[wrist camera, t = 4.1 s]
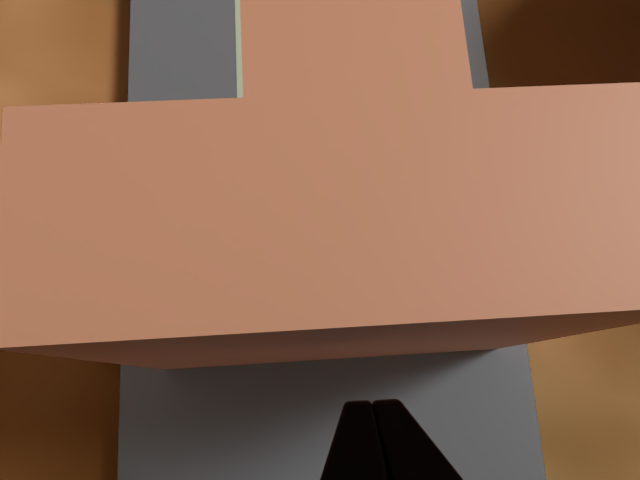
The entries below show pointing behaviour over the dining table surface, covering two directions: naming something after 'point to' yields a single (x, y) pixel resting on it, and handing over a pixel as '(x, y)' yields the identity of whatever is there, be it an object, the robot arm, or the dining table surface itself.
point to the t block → (322, 204)
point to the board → (301, 376)
